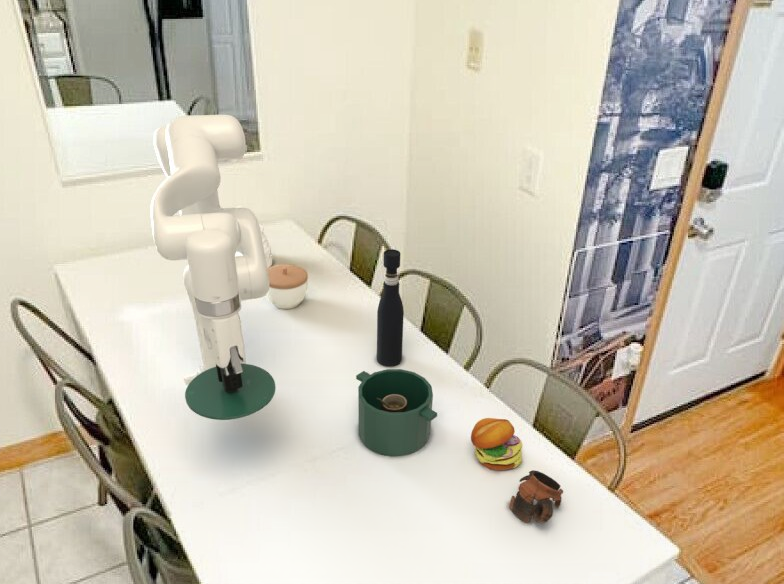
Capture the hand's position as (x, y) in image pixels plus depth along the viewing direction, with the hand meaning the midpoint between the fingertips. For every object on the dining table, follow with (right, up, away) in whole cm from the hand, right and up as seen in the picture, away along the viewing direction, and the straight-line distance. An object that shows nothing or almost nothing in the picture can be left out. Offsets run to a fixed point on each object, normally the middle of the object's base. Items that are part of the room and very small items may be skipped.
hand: (230, 383), depth 122 cm
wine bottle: (+27, +4, +42) cm, 51 cm away
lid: (0, -2, +1) cm, 2 cm away
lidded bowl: (-3, +21, +62) cm, 66 cm away
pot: (+30, -11, +20) cm, 38 cm away
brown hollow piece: (+59, -25, +3) cm, 64 cm away
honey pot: (-19, +35, +81) cm, 90 cm away
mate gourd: (+30, -11, +19) cm, 37 cm away
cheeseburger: (+52, -16, +15) cm, 56 cm away
